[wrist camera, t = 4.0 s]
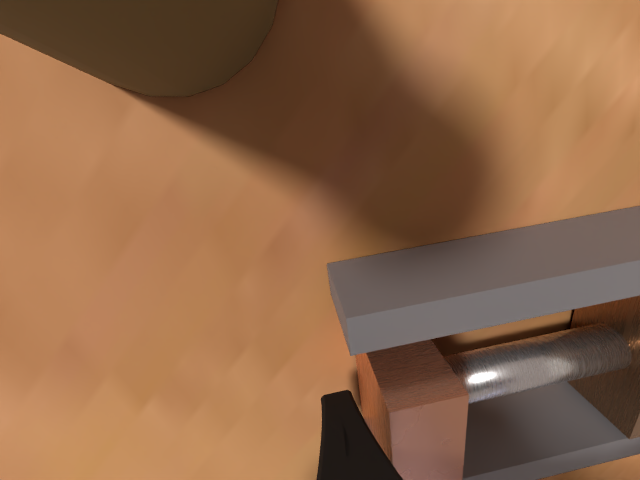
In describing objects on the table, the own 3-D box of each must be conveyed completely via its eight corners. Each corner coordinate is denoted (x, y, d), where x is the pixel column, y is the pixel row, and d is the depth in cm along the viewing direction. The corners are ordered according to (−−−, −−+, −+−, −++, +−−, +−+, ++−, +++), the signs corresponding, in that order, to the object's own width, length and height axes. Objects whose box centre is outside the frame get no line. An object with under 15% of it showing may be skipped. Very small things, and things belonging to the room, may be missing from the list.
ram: (579, 370, 14) (687, 461, 10) (362, 419, 13) (397, 536, 10) (611, 249, 12) (766, 314, 8) (349, 301, 11) (388, 397, 7)
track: (635, 375, 15) (715, 434, 12) (351, 441, 14) (370, 521, 11) (701, 194, 12) (834, 221, 9) (326, 263, 10) (346, 319, 8)
